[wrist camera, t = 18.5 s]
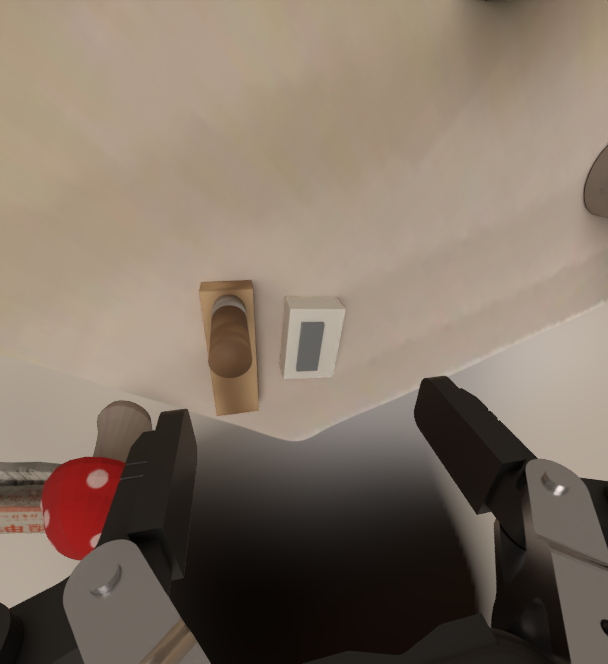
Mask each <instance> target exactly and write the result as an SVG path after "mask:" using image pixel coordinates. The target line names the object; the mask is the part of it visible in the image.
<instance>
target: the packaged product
mask: <svg viewBox="0 0 608 664" xmlns="http://www.w3.org/2000/svg"><path fill="white" fill-rule="evenodd" d="M60 465H62V464H58V463H47V462H13V463H12V462H0V534H4V533H45V529H44V517H43V514H42V510H41V507H40V503H41V497H42V492H43V487H44V483H45V482H46V480H47V479H48V478H49V476H50V475H51V474H52V473H53V471H54V470H55V469H56V468H57V467H58V466H60Z"/></svg>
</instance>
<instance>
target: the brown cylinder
mask: <svg viewBox="0 0 608 664" xmlns="http://www.w3.org/2000/svg"><path fill="white" fill-rule="evenodd" d="M208 363H209V367H210V369H211V370H212V371H213V372H214V373H215V374H216V375H218V376H220V377H224V378H236V377H239V376H241V375H243V374H245V373H246V372H247V371H248V370H249V369H250V367H251V365H252V352H251V345H250V337H249V330H248V323H247V315H246V308H245V304H244V302H243V301H242V300H241V299H240V298H239V297H237V296H235V295H229V294H228V295H223V296H220V297H219V298H217V299H216V300H215V302H214V304H213V308H212V320H211V333H210V346H209V359H208Z"/></svg>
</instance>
